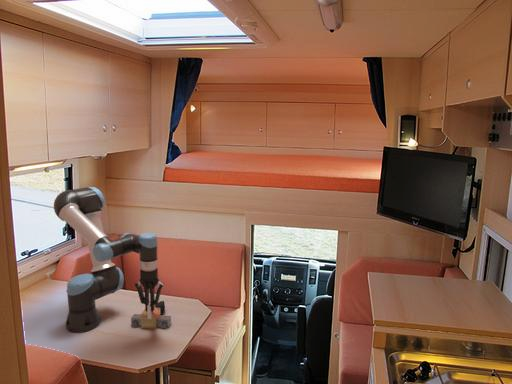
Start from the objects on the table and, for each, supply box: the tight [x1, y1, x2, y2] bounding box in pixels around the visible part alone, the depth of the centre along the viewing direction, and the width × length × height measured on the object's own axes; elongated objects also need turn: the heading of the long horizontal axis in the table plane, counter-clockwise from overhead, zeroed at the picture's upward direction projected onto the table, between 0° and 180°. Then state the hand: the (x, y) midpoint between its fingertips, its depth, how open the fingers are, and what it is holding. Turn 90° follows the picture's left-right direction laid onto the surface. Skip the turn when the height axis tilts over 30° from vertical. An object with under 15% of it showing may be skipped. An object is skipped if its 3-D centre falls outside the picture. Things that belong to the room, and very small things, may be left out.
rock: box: [155, 300, 166, 315], centre depth 201 cm, size 9×10×6 cm
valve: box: [130, 308, 172, 330], centre depth 192 cm, size 18×7×9 cm, turn 86°
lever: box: [149, 302, 160, 318], centre depth 186 cm, size 14×4×2 cm, turn 29°
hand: (150, 317), depth 182 cm, fingers closed
